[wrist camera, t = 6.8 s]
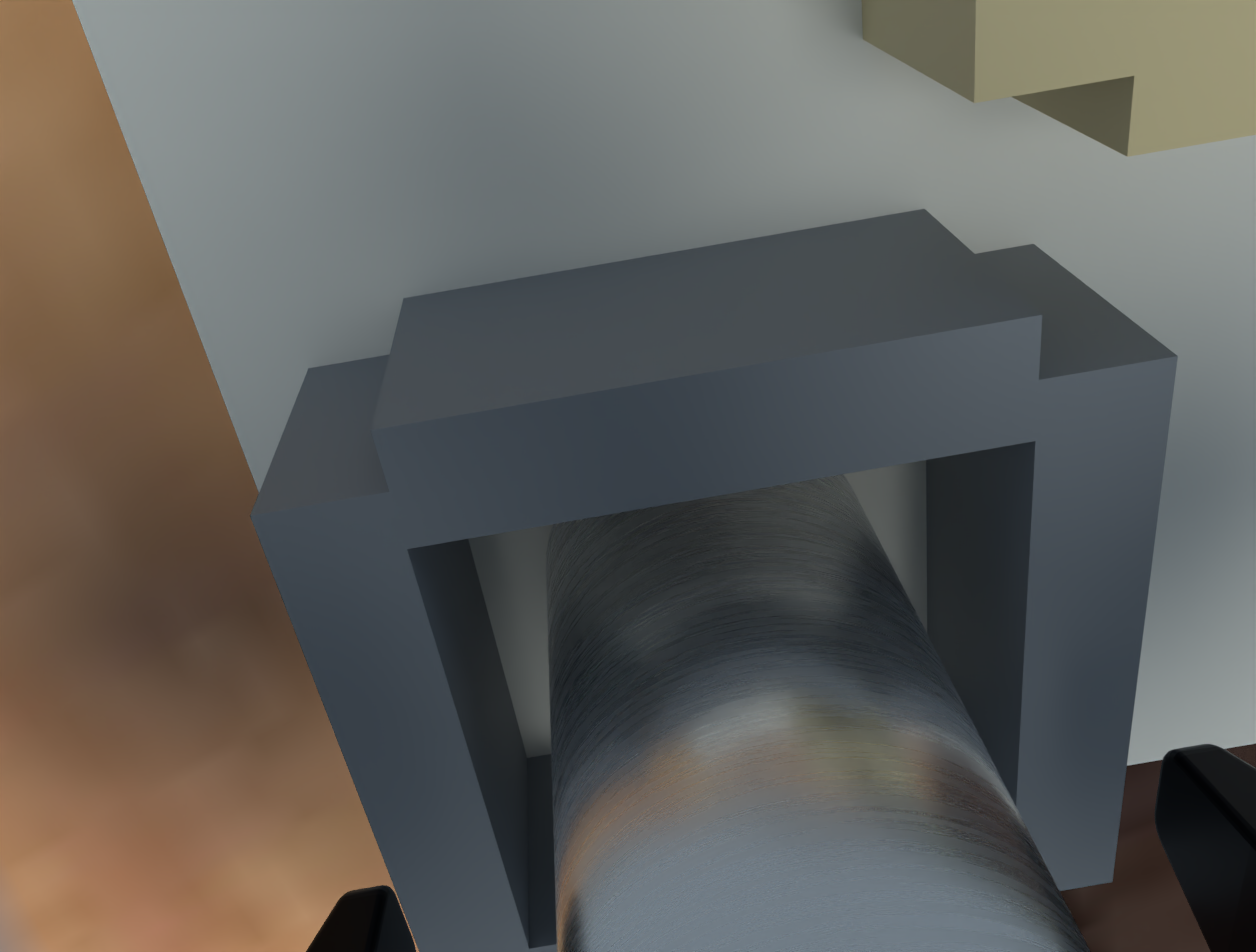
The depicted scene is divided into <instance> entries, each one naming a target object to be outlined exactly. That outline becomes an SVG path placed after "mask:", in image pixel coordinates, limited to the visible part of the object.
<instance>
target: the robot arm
mask: <svg viewBox="0 0 1256 952" xmlns="http://www.w3.org/2000/svg"><path fill="white" fill-rule="evenodd" d="M1155 824H1156V829H1157V832H1158V836H1159V839H1160V841H1161V843H1162V846H1163V848H1164V850H1165V852H1166V854H1167V857H1168V859H1169V861H1170V863H1171V865H1172V868H1173V870H1174V872H1175V874H1176V876H1177V879H1178V881H1179V883H1180V885H1181V887H1182V889H1183V892H1184V894H1185V896H1186V898H1187V900H1188V903H1189V905H1190V907H1191V909H1192V911H1193V914H1194V916H1195V918H1196V920H1197V922H1198V925H1199V927H1200V929H1201V931H1202V933H1203V936H1204V938H1205V940H1206V942H1207V944H1208V947H1209V949H1210V951H1211V952H1256V768H1254V767H1253V766H1251V765H1250V764H1248V763H1246V762H1245V761H1243V760H1241V759H1240V758H1238V757H1236V756H1235V755H1233V754H1231V753H1230V752H1228V751H1227V750H1225V749H1223V748H1221V747H1219V746H1216V745H1213V744H1201V745H1195V746H1189V747H1183V748H1178V749H1173V750H1170V751H1168V752H1167V753H1166V755H1165V756H1164V757H1163V761H1162V765H1161V772H1160V779H1159V786H1158V792H1157V799H1156V806H1155ZM306 952H416V950H415V945H414V942H413V939H412V936H411V933H410V931H409V928H408V926H407V923H406V921H405V918H404V915H403V913H402V910H401V908H400V905H399V903H398V900H397V897H396V895H395V893H394V891H393V890H392V889H391V888H390V887H388V886H383V885H381V886H375V887H370V888H364V889H358V890H352V891H349V892H347V893H346V894H344V895H343V896H342V897H341V898H340V899H339V900H338V902H337V903H336V905H335V907H334V908H333V910H332V911H331V913H330V914H329V916H328V918H327V919H326V921H325V922H324V924H323V925H322V927H321V929H320V930H319V932H318V933H317V935H316V937H315V938H314V940H313V941H312V943H311V944H310V946H309V948H308V949H307V951H306Z"/></svg>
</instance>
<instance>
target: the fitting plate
mask: <svg viewBox="0 0 1256 952" xmlns="http://www.w3.org/2000/svg"><path fill="white" fill-rule="evenodd" d="M72 1H73V4H74V6H75V9H76V12H77V14H78V17H79V20H80V22H81V25H82V27H83V30H84V33H85V35H86V38H87V41H88V43H89V46H90V49H91V51H92V54H93V56H94V59H95V62H96V64H97V67H98V70H99V72H100V75H101V78H102V80H103V83H104V85H105V88H106V91H107V93H108V96H109V99H110V101H111V104H112V107H113V109H114V112H115V115H116V117H117V120H118V122H119V125H120V128H121V130H122V133H123V136H124V138H125V141H126V144H127V146H128V149H129V151H130V154H131V157H132V159H133V162H134V165H135V167H136V170H137V173H138V175H139V178H140V180H141V183H142V186H143V188H144V191H145V194H146V196H147V199H148V202H149V204H150V207H151V210H152V212H153V215H154V217H155V220H156V223H157V225H158V228H159V231H160V233H161V236H162V239H163V241H164V244H165V246H166V249H167V252H168V254H169V257H170V260H171V262H172V265H173V268H174V270H175V273H176V276H177V278H178V281H179V283H180V286H181V289H182V291H183V294H184V297H185V299H186V302H187V305H188V307H189V310H190V312H191V315H192V318H193V320H194V323H195V326H196V328H197V331H198V334H199V336H200V339H201V341H202V344H203V347H204V349H205V352H206V355H207V357H208V360H209V363H210V365H211V368H212V371H213V373H214V376H215V378H216V381H217V384H218V386H219V389H220V392H221V394H222V397H223V400H224V402H225V405H226V407H227V410H228V413H229V415H230V418H231V421H232V423H233V426H234V429H235V431H236V434H237V436H238V439H239V442H240V444H241V447H242V450H243V452H244V455H245V458H246V460H247V463H248V466H249V468H250V471H251V473H252V476H253V479H254V481H255V484H256V487H257V489H258V492H259V494H258V497H257V499H256V502H255V504H254V507H253V510H252V512H251V515H250V517H251V520H252V522H253V525H254V527H255V530H256V532H257V535H258V538H259V540H260V543H261V545H262V548H263V550H264V553H265V556H266V558H267V561H268V563H269V566H270V568H271V571H272V574H273V576H274V579H275V581H276V584H277V586H278V589H279V592H280V594H281V597H282V599H283V602H284V604H285V607H286V610H287V612H288V615H289V617H290V620H291V622H292V625H293V628H294V630H295V633H296V635H297V638H298V640H299V643H300V646H301V648H302V651H303V653H304V656H305V658H306V661H307V664H308V666H309V669H310V671H311V674H312V676H313V679H314V682H315V684H316V687H317V689H318V692H319V694H320V697H321V700H322V702H323V705H324V707H325V710H326V712H327V715H328V718H329V720H330V723H331V725H332V728H333V730H334V733H335V736H336V738H337V741H338V743H339V746H340V748H341V751H342V754H343V756H344V759H345V761H346V764H347V766H348V769H349V772H350V774H351V777H352V779H353V782H354V784H355V787H356V790H357V792H358V795H359V797H360V800H361V802H362V805H363V808H364V810H365V813H366V815H367V818H368V820H369V823H370V826H371V828H372V831H373V833H374V836H375V838H376V841H377V844H378V846H379V849H380V851H381V854H382V856H383V859H384V862H385V864H386V867H387V869H388V872H389V874H390V877H391V880H392V882H393V885H394V887H395V890H396V892H397V895H398V898H399V900H400V903H401V905H402V908H403V910H404V913H405V916H406V918H407V921H408V923H409V926H410V929H411V931H412V934H413V936H414V939H415V941H416V944H417V947H418V949H419V952H557V937H556V902H555V867H554V832H553V798H552V763H551V728H550V693H549V659H548V624H547V589H546V551H547V545H548V540H549V534H550V531H551V529H552V526H553V524H557V523H562V522H568V521H574V520H580V519H586V518H592V517H597V516H603V515H609V514H615V513H621V512H626V511H632V510H638V509H644V508H650V507H655V506H661V505H667V504H673V503H679V502H684V501H690V500H696V499H702V498H708V497H713V496H719V495H725V494H731V493H737V492H743V491H748V490H754V489H760V488H766V487H772V486H777V485H783V484H789V483H795V482H801V481H806V480H812V479H818V478H824V477H830V476H835V475H841V474H844V476H845V477H846V479H847V480H848V481H849V483H850V484H851V486H852V488H853V490H854V492H855V494H856V496H857V498H858V500H859V502H860V504H861V506H862V508H863V510H864V512H865V514H866V516H867V518H868V520H869V521H870V523H871V525H872V527H873V529H874V531H875V533H876V535H877V537H878V539H879V541H880V543H881V545H882V547H883V549H884V551H885V553H886V555H887V556H888V558H889V560H890V562H891V564H892V566H893V568H894V570H895V572H896V574H897V576H898V578H899V580H900V582H901V584H902V586H903V588H904V590H905V592H906V593H907V595H908V597H909V599H910V601H911V603H912V605H913V607H914V609H915V611H916V613H917V615H918V617H919V619H920V621H921V623H922V625H923V627H924V629H925V630H926V632H927V634H928V636H929V638H930V640H931V642H932V644H933V646H934V648H935V650H936V652H937V654H938V656H939V658H940V660H941V662H942V664H943V665H944V667H945V669H946V671H947V673H948V675H949V677H950V679H951V681H952V683H953V685H954V687H955V689H956V691H957V693H958V695H959V697H960V699H961V701H962V702H963V704H964V706H965V708H966V710H967V712H968V714H969V716H970V718H971V720H972V722H973V724H974V726H975V728H976V730H977V732H978V734H979V736H980V738H981V739H982V741H983V743H984V745H985V747H986V749H987V751H988V753H989V755H990V757H991V759H992V761H993V763H994V765H995V767H996V769H997V771H998V773H999V774H1000V776H1001V778H1002V780H1003V782H1004V784H1005V786H1006V788H1007V790H1008V792H1009V794H1010V796H1011V798H1012V800H1013V802H1014V804H1015V806H1016V808H1017V810H1018V811H1019V813H1020V815H1021V817H1022V819H1023V821H1024V823H1025V825H1026V827H1027V829H1028V831H1029V833H1030V835H1031V837H1032V839H1033V841H1034V843H1035V845H1036V847H1037V848H1038V850H1039V852H1040V854H1041V856H1042V858H1043V860H1044V862H1045V864H1046V866H1047V868H1048V870H1049V872H1050V874H1051V876H1052V878H1053V880H1054V882H1055V883H1056V885H1057V887H1058V889H1059V891H1063V890H1069V889H1074V888H1080V887H1086V886H1092V885H1098V884H1103V883H1109V882H1112V880H1113V872H1114V864H1115V856H1116V848H1117V840H1118V832H1119V824H1120V816H1121V808H1122V800H1123V792H1124V784H1125V776H1126V768H1127V766H1128V765H1134V764H1140V763H1145V762H1151V761H1157V760H1163V757H1164V756H1165V755H1166V753H1167V752H1168V751H1170V750H1173V749H1178V748H1183V747H1189V746H1195V745H1201V744H1213V745H1216V746H1219V747H1221V748H1223V749H1226V748H1232V747H1238V746H1244V745H1250V744H1255V743H1256V0H72Z"/></svg>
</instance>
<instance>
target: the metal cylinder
mask: <svg viewBox="0 0 1256 952" xmlns="http://www.w3.org/2000/svg"><path fill="white" fill-rule="evenodd" d="M546 589H547V624H548V659H549V693H550V728H551V763H552V798H553V832H554V867H555V902H556V937H557V952H1090V950H1089V948H1088V946H1087V944H1086V942H1085V940H1084V938H1083V936H1082V934H1081V932H1080V930H1079V928H1078V926H1077V924H1076V922H1075V920H1074V919H1073V917H1072V915H1071V913H1070V911H1069V909H1068V907H1067V905H1066V903H1065V901H1064V899H1063V897H1062V895H1061V893H1060V891H1059V889H1058V887H1057V885H1056V883H1055V882H1054V880H1053V878H1052V876H1051V874H1050V872H1049V870H1048V868H1047V866H1046V864H1045V862H1044V860H1043V858H1042V856H1041V854H1040V852H1039V850H1038V848H1037V847H1036V845H1035V843H1034V841H1033V839H1032V837H1031V835H1030V833H1029V831H1028V829H1027V827H1026V825H1025V823H1024V821H1023V819H1022V817H1021V815H1020V813H1019V811H1018V810H1017V808H1016V806H1015V804H1014V802H1013V800H1012V798H1011V796H1010V794H1009V792H1008V790H1007V788H1006V786H1005V784H1004V782H1003V780H1002V778H1001V776H1000V774H999V773H998V771H997V769H996V767H995V765H994V763H993V761H992V759H991V757H990V755H989V753H988V751H987V749H986V747H985V745H984V743H983V741H982V739H981V738H980V736H979V734H978V732H977V730H976V728H975V726H974V724H973V722H972V720H971V718H970V716H969V714H968V712H967V710H966V708H965V706H964V704H963V702H962V701H961V699H960V697H959V695H958V693H957V691H956V689H955V687H954V685H953V683H952V681H951V679H950V677H949V675H948V673H947V671H946V669H945V667H944V665H943V664H942V662H941V660H940V658H939V656H938V654H937V652H936V650H935V648H934V646H933V644H932V642H931V640H930V638H929V636H928V634H927V632H926V630H925V629H924V627H923V625H922V623H921V621H920V619H919V617H918V615H917V613H916V611H915V609H914V607H913V605H912V603H911V601H910V599H909V597H908V595H907V593H906V592H905V590H904V588H903V586H902V584H901V582H900V580H899V578H898V576H897V574H896V572H895V570H894V568H893V566H892V564H891V562H890V560H889V558H888V556H887V555H886V553H885V551H884V549H883V547H882V545H881V543H880V541H879V539H878V537H877V535H876V533H875V531H874V529H873V527H872V525H871V523H870V521H869V520H868V518H867V516H866V514H865V512H864V510H863V508H862V506H861V504H860V502H859V500H858V498H857V496H856V494H855V492H854V490H853V488H852V486H851V484H850V483H849V481H848V480H847V479H846V477H845V476H844V474H841V475H835V476H830V477H824V478H818V479H812V480H806V481H801V482H795V483H789V484H783V485H777V486H772V487H766V488H760V489H754V490H748V491H743V492H737V493H731V494H725V495H719V496H713V497H708V498H702V499H696V500H690V501H684V502H679V503H673V504H667V505H661V506H655V507H650V508H644V509H638V510H632V511H626V512H621V513H615V514H609V515H603V516H597V517H592V518H586V519H580V520H574V521H568V522H562V523H557V524H553V526H552V529H551V531H550V534H549V540H548V545H547V551H546Z"/></svg>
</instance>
